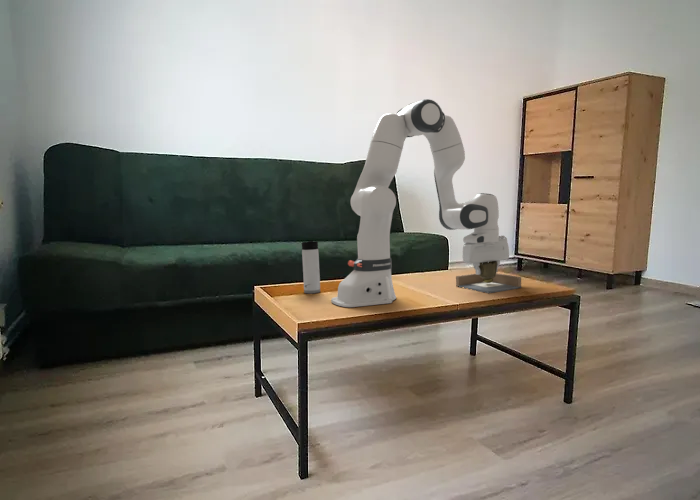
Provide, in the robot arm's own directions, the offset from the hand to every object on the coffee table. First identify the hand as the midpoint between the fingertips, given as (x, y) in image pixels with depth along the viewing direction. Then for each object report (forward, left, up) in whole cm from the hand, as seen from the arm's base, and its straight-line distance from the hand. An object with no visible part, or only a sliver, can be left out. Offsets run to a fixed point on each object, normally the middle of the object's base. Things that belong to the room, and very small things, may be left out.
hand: (486, 273), depth 172 cm
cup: (0, 0, -4) cm, 4 cm away
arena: (-1, -2, -5) cm, 5 cm away
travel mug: (-58, +32, -5) cm, 67 cm away
